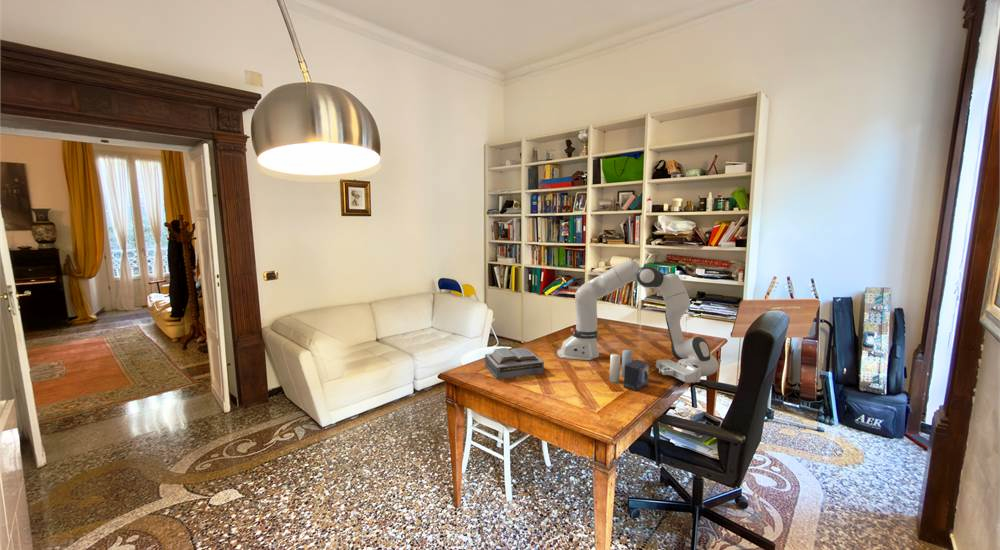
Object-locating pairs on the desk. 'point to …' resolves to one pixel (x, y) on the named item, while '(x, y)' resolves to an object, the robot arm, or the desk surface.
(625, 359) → the slate post
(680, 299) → the robot arm
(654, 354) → the desk surface
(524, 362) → the bible
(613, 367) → the cream post
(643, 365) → the small box
